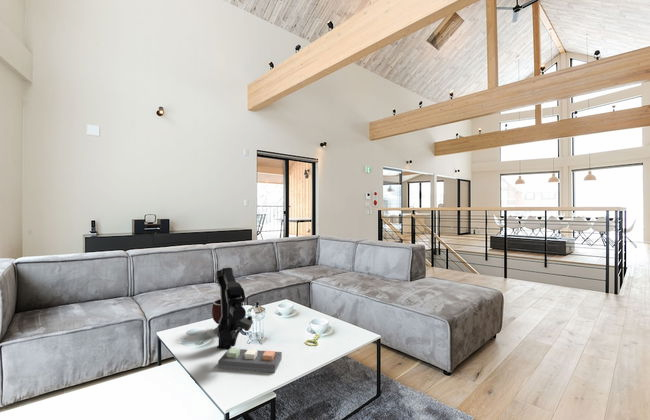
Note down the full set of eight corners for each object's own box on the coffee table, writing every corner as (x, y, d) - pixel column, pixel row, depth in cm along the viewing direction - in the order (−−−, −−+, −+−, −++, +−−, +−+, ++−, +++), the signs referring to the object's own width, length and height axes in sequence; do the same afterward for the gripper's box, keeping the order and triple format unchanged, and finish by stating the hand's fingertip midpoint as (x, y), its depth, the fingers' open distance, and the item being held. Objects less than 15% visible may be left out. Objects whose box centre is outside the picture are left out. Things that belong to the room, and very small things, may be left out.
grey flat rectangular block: (218, 368, 138) (218, 360, 138) (229, 355, 150) (229, 348, 150) (274, 372, 136) (275, 364, 136) (281, 359, 148) (281, 352, 147)
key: (320, 337, 174) (320, 333, 174) (317, 347, 162) (317, 343, 162) (308, 336, 175) (308, 332, 175) (303, 346, 163) (304, 342, 162)
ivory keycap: (244, 359, 141) (244, 353, 141) (248, 354, 145) (248, 349, 145) (254, 360, 140) (254, 354, 140) (257, 355, 145) (257, 349, 145)
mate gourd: (227, 336, 171) (228, 301, 171) (206, 333, 175) (207, 298, 175) (242, 326, 186) (243, 293, 186) (222, 323, 190) (223, 291, 190)
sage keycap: (226, 358, 142) (226, 352, 142) (230, 353, 146) (230, 348, 146) (236, 358, 141) (236, 353, 141) (240, 354, 146) (240, 348, 146)
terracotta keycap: (262, 360, 140) (262, 355, 140) (265, 355, 144) (265, 350, 144) (272, 361, 139) (272, 355, 139) (275, 356, 144) (275, 351, 144)
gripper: (243, 321, 133) (242, 357, 134) (257, 307, 152) (256, 338, 152) (218, 319, 135) (218, 355, 135) (235, 305, 153) (235, 337, 153)
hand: (233, 346), depth 144 cm, fingers closed
